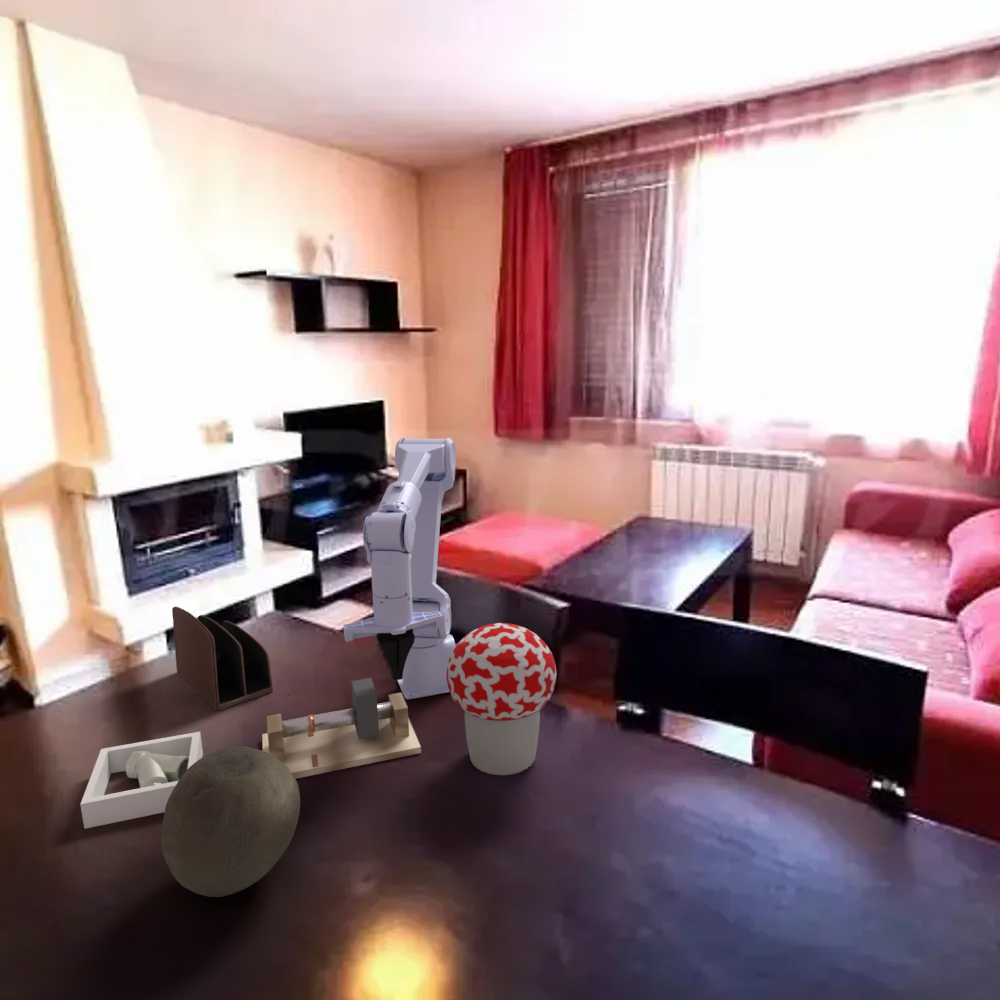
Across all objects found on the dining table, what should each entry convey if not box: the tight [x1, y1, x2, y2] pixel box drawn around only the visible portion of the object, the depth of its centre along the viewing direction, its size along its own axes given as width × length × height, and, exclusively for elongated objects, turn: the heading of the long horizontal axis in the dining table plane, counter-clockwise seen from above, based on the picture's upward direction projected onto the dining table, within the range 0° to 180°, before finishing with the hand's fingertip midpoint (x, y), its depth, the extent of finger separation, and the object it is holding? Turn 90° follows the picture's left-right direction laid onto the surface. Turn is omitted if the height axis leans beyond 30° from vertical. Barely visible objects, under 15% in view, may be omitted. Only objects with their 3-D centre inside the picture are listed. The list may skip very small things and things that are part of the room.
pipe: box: [282, 701, 393, 738], centre depth 104 cm, size 20×3×3 cm, turn 109°
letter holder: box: [171, 606, 274, 712], centre depth 125 cm, size 10×20×14 cm, turn 42°
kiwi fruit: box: [160, 745, 301, 898], centre depth 78 cm, size 14×14×15 cm
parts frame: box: [79, 731, 204, 830], centre depth 95 cm, size 13×13×4 cm
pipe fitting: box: [125, 751, 189, 788], centre depth 96 cm, size 8×4×7 cm
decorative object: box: [446, 622, 558, 776], centre depth 100 cm, size 16×16×20 cm
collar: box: [350, 677, 379, 739], centre depth 105 cm, size 3×5×7 cm, turn 19°
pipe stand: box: [261, 692, 422, 780], centre depth 104 cm, size 22×12×6 cm, turn 109°
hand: (396, 677), depth 106 cm, fingers closed
